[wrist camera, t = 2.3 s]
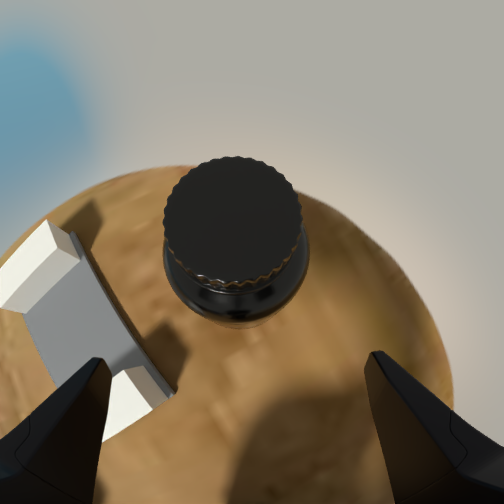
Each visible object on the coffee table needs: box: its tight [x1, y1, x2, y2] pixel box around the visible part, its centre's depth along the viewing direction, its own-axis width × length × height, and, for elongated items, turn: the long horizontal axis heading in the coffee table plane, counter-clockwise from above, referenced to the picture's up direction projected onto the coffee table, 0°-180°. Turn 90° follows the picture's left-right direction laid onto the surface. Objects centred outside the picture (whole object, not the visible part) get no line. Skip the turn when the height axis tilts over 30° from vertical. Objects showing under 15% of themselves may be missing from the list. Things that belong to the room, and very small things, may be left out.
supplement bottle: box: [163, 156, 310, 329], centre depth 15 cm, size 7×7×12 cm
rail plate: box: [0, 219, 176, 442], centre depth 17 cm, size 16×9×4 cm, turn 39°
